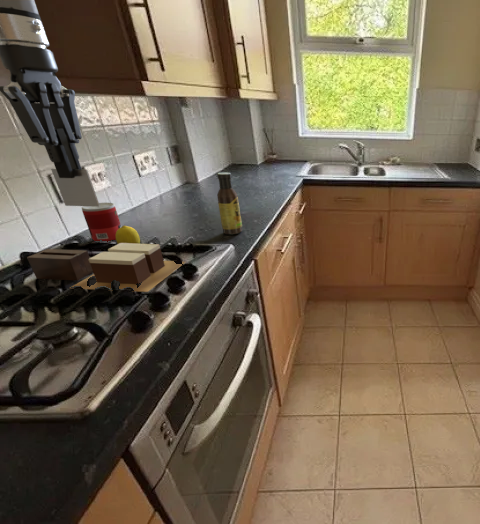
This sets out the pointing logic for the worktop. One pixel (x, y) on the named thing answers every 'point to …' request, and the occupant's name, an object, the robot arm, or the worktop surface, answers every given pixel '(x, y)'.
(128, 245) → the cake
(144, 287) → the cutting board
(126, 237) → the lemon
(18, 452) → the worktop surface
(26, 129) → the robot arm
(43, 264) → the knife block
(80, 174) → the scraper
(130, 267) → the cake
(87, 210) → the canned food
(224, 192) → the sauce bottle
